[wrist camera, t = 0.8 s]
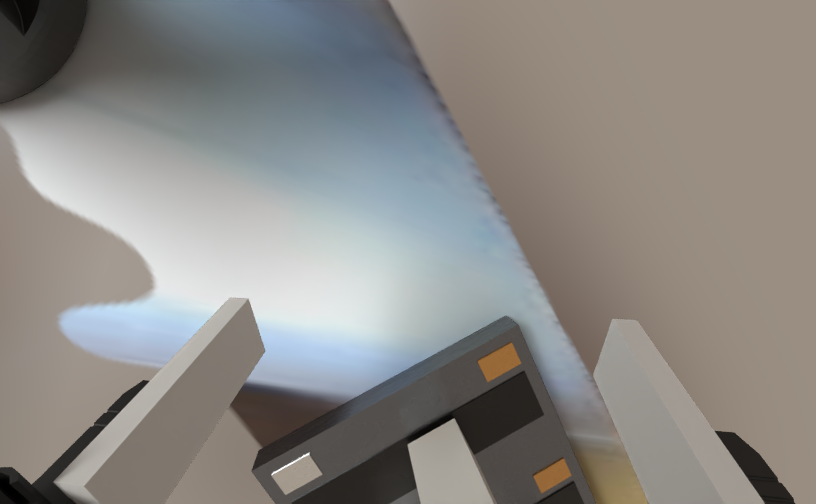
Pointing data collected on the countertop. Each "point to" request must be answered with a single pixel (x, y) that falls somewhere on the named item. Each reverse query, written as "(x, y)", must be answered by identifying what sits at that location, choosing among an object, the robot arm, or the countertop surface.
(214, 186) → the countertop surface
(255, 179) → the countertop surface
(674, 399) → the robot arm
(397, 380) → the panel
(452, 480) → the handle
